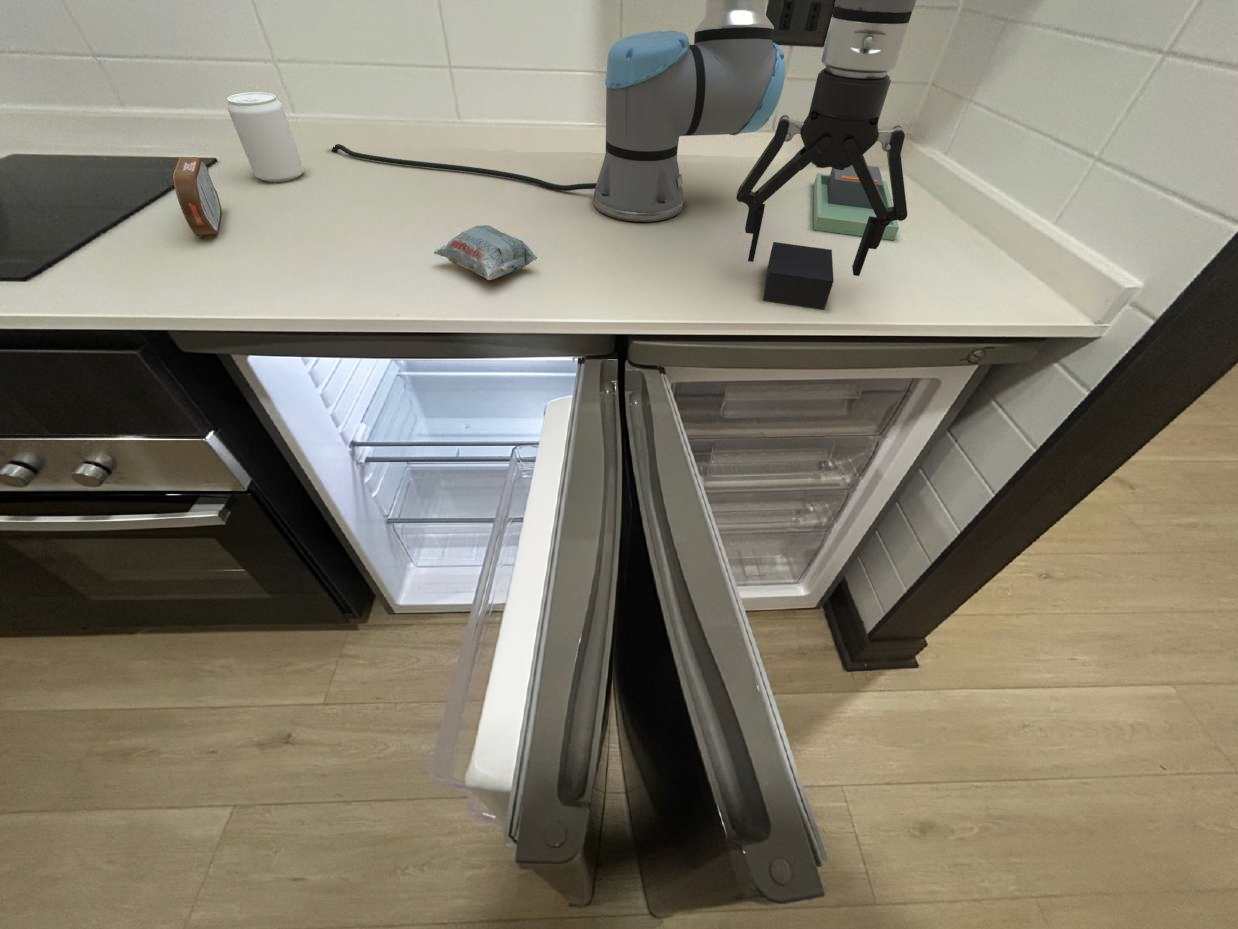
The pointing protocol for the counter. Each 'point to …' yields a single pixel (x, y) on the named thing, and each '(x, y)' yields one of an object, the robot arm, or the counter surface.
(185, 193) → the tin
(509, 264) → the packaged food
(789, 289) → the loose pad
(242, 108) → the beverage can
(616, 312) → the counter surface
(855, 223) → the green tray
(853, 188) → the pad
